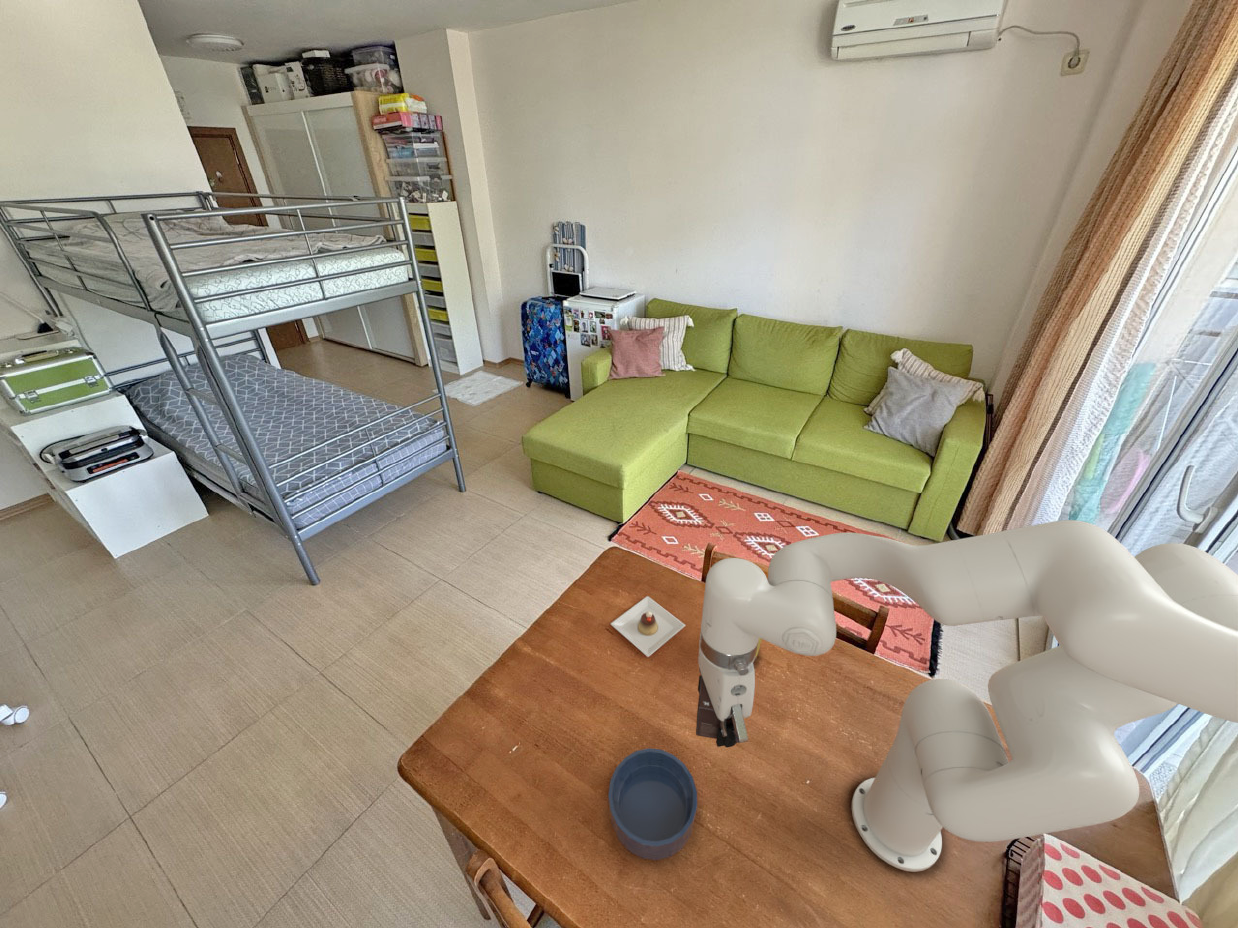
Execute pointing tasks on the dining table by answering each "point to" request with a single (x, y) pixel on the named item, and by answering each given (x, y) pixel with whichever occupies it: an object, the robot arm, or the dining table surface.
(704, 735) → the box
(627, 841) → the bowl
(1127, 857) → the dining table surface
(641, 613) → the dessert
